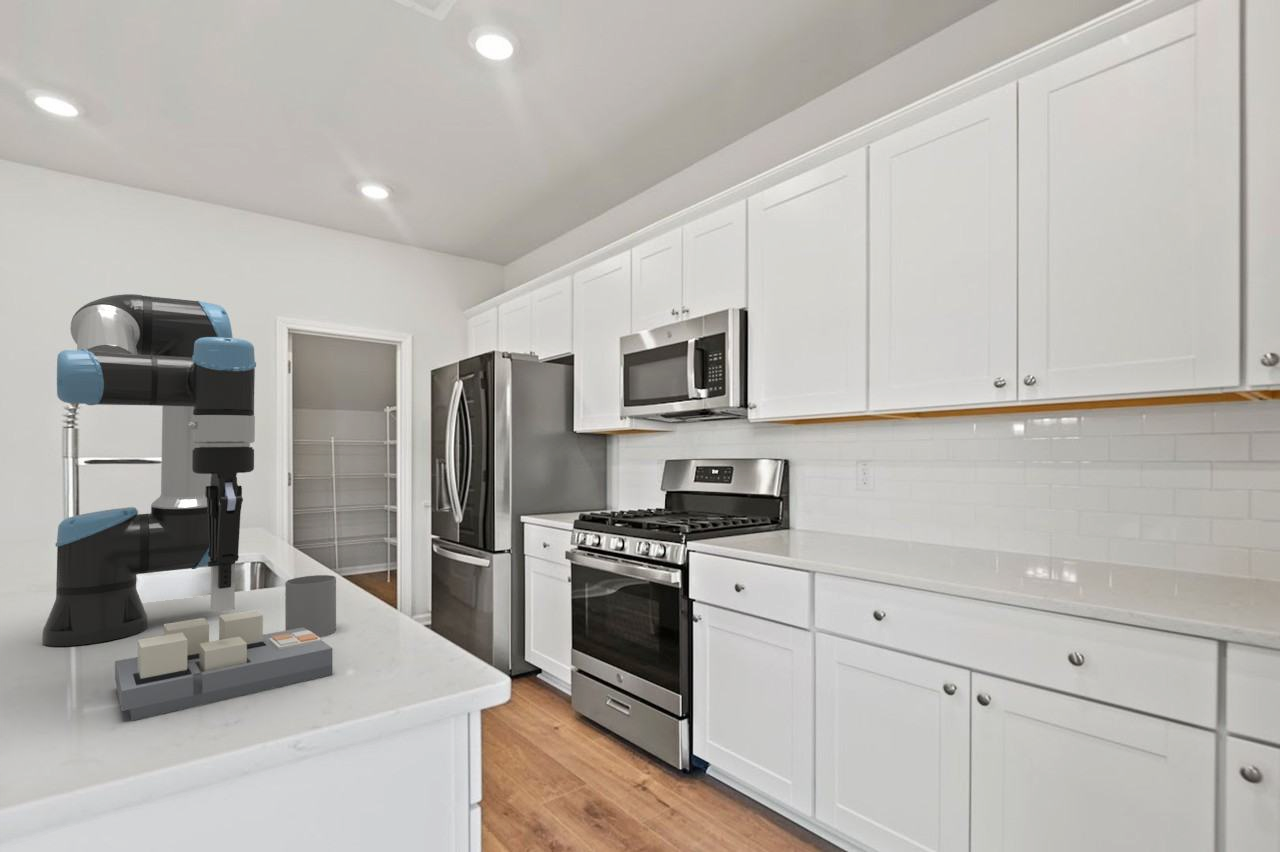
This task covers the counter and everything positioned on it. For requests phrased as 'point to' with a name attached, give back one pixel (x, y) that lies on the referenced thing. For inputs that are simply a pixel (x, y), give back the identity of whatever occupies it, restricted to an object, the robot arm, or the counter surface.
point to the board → (225, 675)
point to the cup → (311, 604)
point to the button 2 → (190, 632)
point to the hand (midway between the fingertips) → (222, 609)
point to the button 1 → (162, 655)
